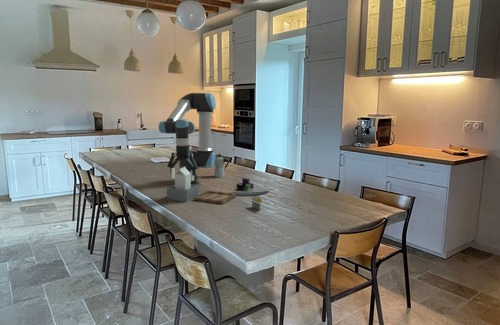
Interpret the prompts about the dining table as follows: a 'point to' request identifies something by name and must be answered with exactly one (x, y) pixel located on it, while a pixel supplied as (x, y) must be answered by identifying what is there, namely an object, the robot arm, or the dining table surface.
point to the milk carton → (183, 179)
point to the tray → (215, 197)
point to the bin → (182, 193)
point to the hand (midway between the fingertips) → (182, 179)
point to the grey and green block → (256, 202)
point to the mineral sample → (246, 188)
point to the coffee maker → (220, 166)
